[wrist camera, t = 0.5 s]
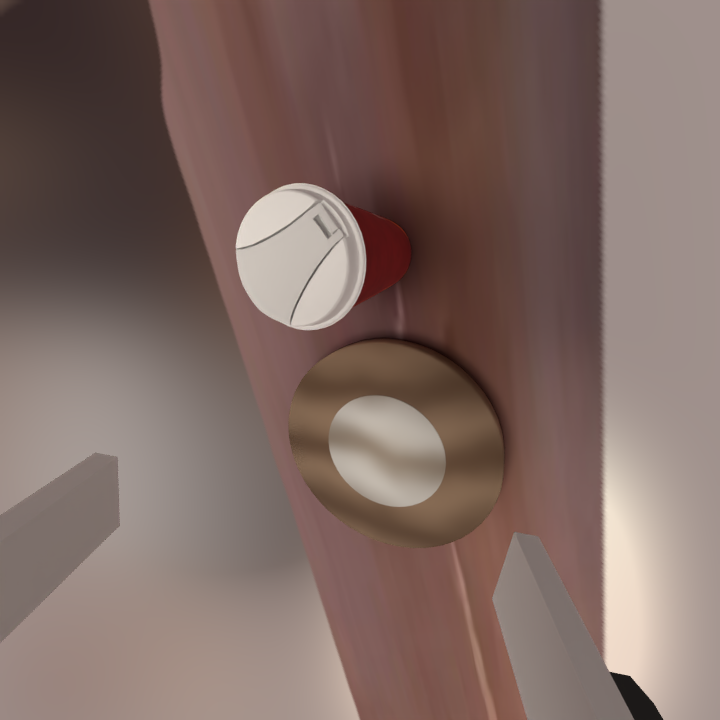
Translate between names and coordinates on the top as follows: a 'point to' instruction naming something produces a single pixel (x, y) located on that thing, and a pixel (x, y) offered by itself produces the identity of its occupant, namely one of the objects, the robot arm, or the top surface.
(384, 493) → the disc
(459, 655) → the top surface
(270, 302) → the paper cup
